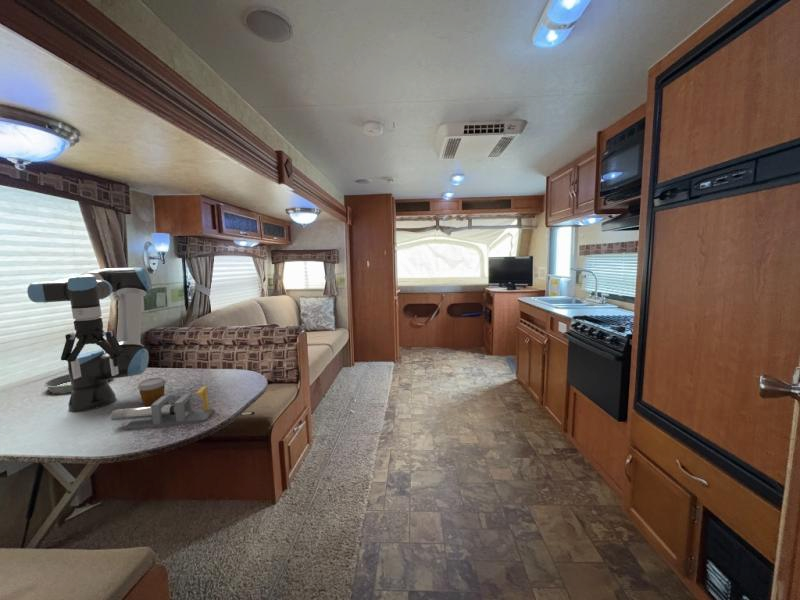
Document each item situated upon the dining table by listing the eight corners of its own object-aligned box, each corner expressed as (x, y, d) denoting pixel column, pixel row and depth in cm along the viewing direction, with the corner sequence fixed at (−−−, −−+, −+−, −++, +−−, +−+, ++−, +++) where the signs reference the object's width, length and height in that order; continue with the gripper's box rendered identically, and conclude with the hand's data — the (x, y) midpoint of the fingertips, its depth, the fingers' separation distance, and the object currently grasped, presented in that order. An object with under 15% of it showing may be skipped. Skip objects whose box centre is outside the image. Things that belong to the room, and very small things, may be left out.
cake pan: (101, 389, 160) (100, 380, 160) (33, 399, 150) (31, 390, 150) (119, 373, 183) (118, 366, 182) (61, 381, 172) (59, 373, 172)
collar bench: (123, 430, 120) (119, 402, 119) (137, 418, 129) (134, 392, 128) (205, 421, 126) (203, 394, 124) (214, 410, 135) (211, 385, 133)
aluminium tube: (111, 423, 121) (109, 412, 121) (118, 417, 126) (117, 407, 125) (176, 416, 126) (175, 406, 125) (181, 411, 130) (180, 401, 129)
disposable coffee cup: (152, 403, 143) (149, 377, 141) (173, 403, 142) (170, 377, 141) (134, 414, 133) (130, 386, 132) (157, 413, 133) (153, 386, 131)
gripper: (39, 322, 112) (49, 383, 114) (118, 318, 116) (126, 376, 119) (57, 318, 119) (66, 375, 122) (131, 315, 124) (138, 369, 126)
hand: (96, 376), depth 120 cm, fingers open, 11 cm apart
